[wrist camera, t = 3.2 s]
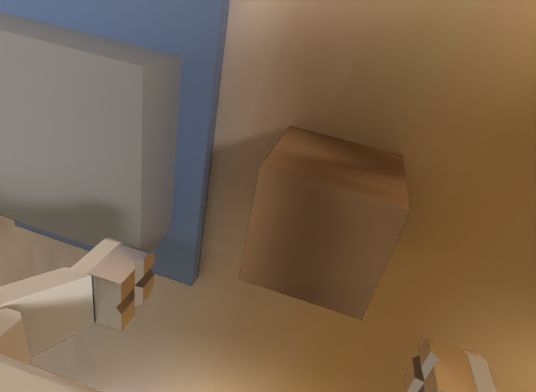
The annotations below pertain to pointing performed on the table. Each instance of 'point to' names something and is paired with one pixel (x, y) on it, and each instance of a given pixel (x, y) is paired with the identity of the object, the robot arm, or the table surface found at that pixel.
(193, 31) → the base
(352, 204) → the walnut cube
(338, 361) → the table surface
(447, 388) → the robot arm
